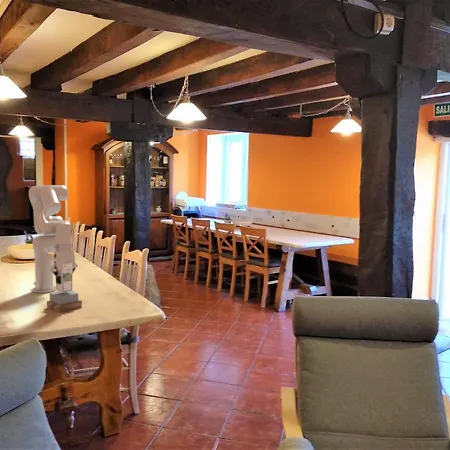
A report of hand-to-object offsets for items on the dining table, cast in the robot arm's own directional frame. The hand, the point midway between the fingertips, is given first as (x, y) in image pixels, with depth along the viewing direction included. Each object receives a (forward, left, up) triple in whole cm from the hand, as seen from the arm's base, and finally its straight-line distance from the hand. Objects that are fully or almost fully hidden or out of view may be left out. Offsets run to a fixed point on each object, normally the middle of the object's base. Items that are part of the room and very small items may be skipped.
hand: (64, 282), depth 235 cm
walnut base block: (0, 0, -14) cm, 14 cm away
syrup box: (0, 0, -5) cm, 5 cm away
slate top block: (0, 0, -10) cm, 10 cm away
